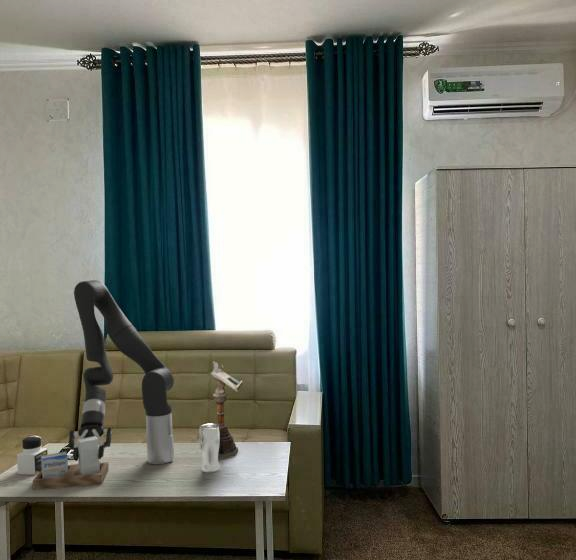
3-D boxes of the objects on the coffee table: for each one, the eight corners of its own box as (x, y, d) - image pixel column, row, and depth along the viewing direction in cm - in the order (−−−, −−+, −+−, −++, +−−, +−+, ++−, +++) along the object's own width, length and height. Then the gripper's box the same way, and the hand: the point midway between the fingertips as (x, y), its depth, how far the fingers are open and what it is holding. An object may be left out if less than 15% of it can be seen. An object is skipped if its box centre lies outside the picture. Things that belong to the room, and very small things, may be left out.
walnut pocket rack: (108, 470, 192) (108, 461, 192) (102, 483, 180) (101, 474, 180) (44, 475, 189) (43, 467, 189) (33, 489, 177) (32, 480, 177)
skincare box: (97, 470, 189) (95, 435, 188) (100, 473, 185) (98, 438, 185) (78, 474, 185) (77, 439, 185) (81, 478, 182) (79, 442, 182)
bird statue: (254, 447, 212) (250, 356, 211) (247, 459, 199) (243, 362, 198) (212, 446, 214) (208, 357, 213) (202, 458, 201) (199, 363, 200)
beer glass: (224, 467, 191) (223, 424, 191) (213, 474, 185) (212, 430, 184) (207, 464, 194) (206, 422, 194) (196, 471, 188) (194, 428, 187)
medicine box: (42, 485, 180) (41, 458, 180) (42, 480, 184) (40, 455, 183) (68, 480, 183) (67, 454, 183) (67, 475, 187) (66, 450, 187)
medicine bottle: (35, 475, 190) (34, 440, 189) (17, 474, 191) (15, 440, 191) (48, 467, 197) (47, 434, 196) (30, 467, 198) (29, 434, 198)
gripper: (70, 411, 191) (62, 455, 180) (112, 408, 193) (108, 451, 182) (74, 422, 196) (67, 465, 185) (115, 418, 199) (111, 462, 187)
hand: (87, 458), depth 184 cm, fingers closed on skincare box, 7 cm apart
